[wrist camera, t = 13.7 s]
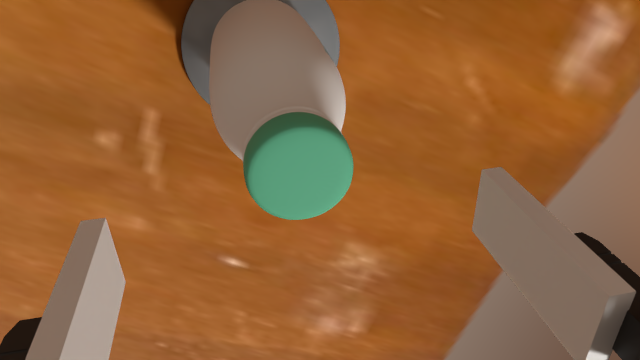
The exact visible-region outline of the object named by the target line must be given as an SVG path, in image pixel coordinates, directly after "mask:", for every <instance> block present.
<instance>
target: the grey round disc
mask: <svg viewBox="0 0 640 360" xmlns="http://www.w3.org/2000/svg"><path fill="white" fill-rule="evenodd" d="M243 1H246V0H194V1H193V2H192V4H191V6H190V8H189V10H188V12H187V15H186V18H185V21H184V25H183V30H182V39H181V49H182V58H183V62H184V66H185V69H186V72H187V74H188V77H189V79H190V81H191V82H192V84H193V86H194V88H195V89H196V90H197V92H198V93H199V94H200V96H201V97H202V98H203V99H204V100H205V101H206V102H207V103H208V104H210V93H209V80H210V52H211V42H212V37H213V33H214V30H215V28H216V26H217V24H218V22H219V21H220V19H221V18H222V16H223V15H224V14H225V13H226V12H227V11H228V10H229V9H231V8H232V7H233V6H235V5H237V4H238V3H241V2H243ZM278 1H281V2H283V3H285V4H287V5H289V6H290V7H292V8H293V9H294V10H296V11H297V12H298V13H299V14H300V15H301V16H302V17H303V19H304V20H305V21H306V22H307V24H308V25H309V26H310V28H311V29H312V30H313V32H314V33H315V35H316V36H317V37H318V39H319V40H320V42H321V43H322V45H323V46H324V47H325V49H326V50H327V52H328V53H329V55H330V56H331V58H332V60H333V62H334V64H335V65H336V67H337V64H338V58H339V47H340V43H339V33H338V28H337V24H336V21H335V18H334V15H333V13H332V11H331V9H330V7H329V5H328V4H327V2H326V1H325V0H278Z"/></svg>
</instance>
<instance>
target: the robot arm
mask: <svg viewBox="0 0 640 360" xmlns="http://www.w3.org/2000/svg"><path fill="white" fill-rule="evenodd" d="M472 231H473V232H474V234H475V235H476V236H477V237H478V239H479V240H480V241H481V242H482V244H483V245H484V246H485V247H486V249H487V250H488V251H489V253H490V254H491V255H492V256H493V258H494V259H495V260H496V261H497V263H498V264H499V265H500V266H501V268H502V269H503V270H504V271H505V273H506V274H507V275H508V276H509V278H510V279H511V280H512V282H513V283H514V284H515V285H516V287H517V288H518V289H519V290H520V292H521V293H522V294H523V296H524V297H525V298H526V299H527V301H528V302H529V303H530V304H531V306H532V307H533V308H534V309H535V311H536V312H537V313H538V315H539V316H540V317H541V318H542V319H543V321H544V322H545V323H546V324H547V326H548V327H549V328H550V330H551V331H552V332H553V333H554V335H555V336H556V337H557V339H558V340H559V341H560V342H561V344H562V345H563V346H564V347H565V349H566V350H567V351H568V352H569V354H570V355H571V356H572V357H573V359H574V360H609V357H610V355H611V353H612V350H614V351H615V352H616V353H617V354H618V356H619V357H620V358H621V359H622V360H640V277H639V276H638V275H637V274H636V273H634V272H633V271H632V270H631V269H630V268H628V266H627V265H625V264H624V263H621V260H620V259H619V258H617V257H616V256H615V255H614V254H611V251H609V250H608V249H607V248H606V247H605V246H604V245H603V244H602V243H600V242H599V241H598V240H596V239H594V238H592V237H590V236H588V235H586V234H584V233H582V232H581V233H575V234H573V233H572V232H571V231H570V230H569V229H568V228H567V227H566V226H565V225H564V224H563V223H561V222H560V221H559V220H558V219H557V218H556V217H555V216H554V215H553V214H552V213H551V212H550V211H548V210H547V209H546V208H545V207H544V206H543V205H542V204H541V203H540V202H539V201H538V200H537V199H535V198H534V197H533V196H532V195H531V194H530V193H529V192H528V191H527V190H526V189H525V188H523V187H522V186H521V185H520V184H519V183H518V182H517V181H516V180H515V179H514V178H513V177H512V176H510V175H509V174H508V173H507V172H506V171H505V170H504V169H503V168H502V167H498V168H490V169H483V170H482V173H481V179H480V185H479V191H478V197H477V203H476V210H475V216H474V222H473V228H472ZM124 287H125V278H124V275H123V272H122V269H121V266H120V262H119V259H118V256H117V253H116V249H115V246H114V243H113V240H112V237H111V233H110V230H109V227H108V224H107V220H106V218H101V219H93V220H85V221H81V222H80V224H79V227H78V229H77V232H76V234H75V237H74V239H73V242H72V244H71V247H70V249H69V252H68V254H67V257H66V259H65V262H64V264H63V267H62V269H61V272H60V274H59V277H58V279H57V281H56V284H55V286H54V289H53V291H52V294H51V296H50V299H49V301H48V304H47V306H46V309H45V311H44V314H43V316H42V317H40V318H33V319H27V320H20V321H19V322H18V323H17V324H16V325H15V326H14V327H13V328H12V329H11V330H10V331H9V332H8V333H7V334H6V336H5V337H4V339H3V341H2V343H1V345H0V360H108V359H109V355H110V350H111V346H112V341H113V337H114V332H115V328H116V323H117V319H118V314H119V309H120V305H121V300H122V296H123V291H124Z"/></svg>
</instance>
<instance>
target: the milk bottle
mask: <svg viewBox="0 0 640 360" xmlns="http://www.w3.org/2000/svg"><path fill="white" fill-rule="evenodd" d="M209 93H210V105H211V112H212V116H213V119H214V122H215V125H216V128H217V130H218V132H219V134H220V136H221V137H222V139H223V141H224V142H225V143H226V145H227V146H228V147H229V148H230V150H231V151H232V152H233V153H234V154H235V155H237V156H238V157H239V158H240V159H241V160H243V169H244V177H245V182H246V186H247V189H248V191H249V193H250V195H251V196H252V198H253V199H254V200H255V202H256V203H257V204H258V205H259V206H260V207H261V208H262V209H263V210H265V211H266V212H268V213H270V214H272V215H274V216H277V217H279V218H283V219H290V220H301V219H308V218H312V217H315V216H318V215H320V214H323V213H324V212H326V211H328V210H329V209H331V208H332V207H334V206H335V205H336V204H337V203H338V202H339V201H340V200H341V199H342V198H343V196H344V195H345V194H346V192H347V190H348V188H349V186H350V183H351V180H352V176H353V158H352V154H351V151H350V149H349V146H348V144H347V142H346V140H345V138H344V137H343V135H342V133H341V129H342V126H343V122H344V117H345V108H346V101H345V91H344V87H343V83H342V79H341V76H340V74H339V71H338V69H337V67H336V65H335V64H334V62H333V60H332V58H331V56H330V55H329V53H328V52H327V50H326V49H325V47H324V46H323V45H322V43H321V42H320V40H319V39H318V37H317V36H316V35H315V33H314V32H313V30H312V29H311V28H310V26H309V25H308V24H307V22H306V21H305V20H304V19H303V17H302V16H301V15H300V14H299V13H298V12H297V11H296V10H294V9H293V8H292V7H290V6H289V5H287V4H285V3H283V2H281V1H278V0H246V1H243V2H241V3H238V4H237V5H235V6H233V7H232V8H231V9H229V10H228V11H227V12H226V13H225V14H224V15H223V16H222V18H221V19H220V21H219V22H218V24H217V26H216V28H215V30H214V33H213V37H212V42H211V52H210V80H209Z"/></svg>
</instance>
